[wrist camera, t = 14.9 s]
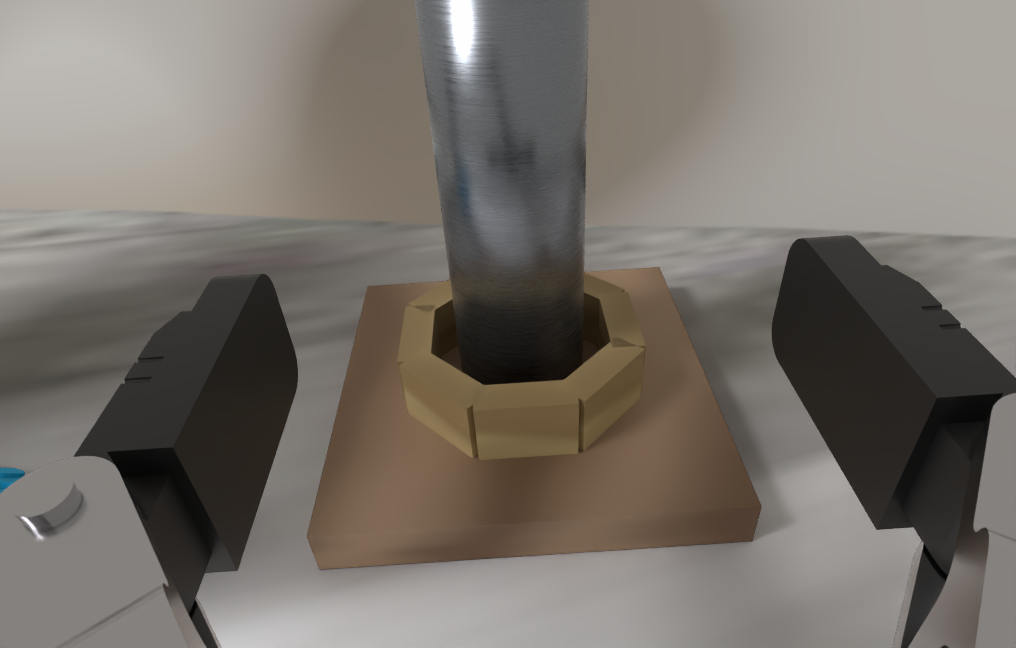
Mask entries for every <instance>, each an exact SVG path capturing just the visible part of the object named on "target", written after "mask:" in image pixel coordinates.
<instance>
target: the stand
mask: <svg viewBox="0 0 1016 648" xmlns="http://www.w3.org/2000/svg"><path fill="white" fill-rule="evenodd" d="M760 511H761V504H760V502H759V500H758V497H757V495H756V493H755V490H754V488H753V486H752V483H751V481H750V479H749V476H748V474H747V471H746V469H745V467H744V464H743V462H742V460H741V457H740V455H739V453H738V450H737V448H736V446H735V443H734V441H733V439H732V436H731V434H730V432H729V429H728V427H727V425H726V422H725V420H724V418H723V415H722V413H721V411H720V408H719V406H718V404H717V401H716V399H715V397H714V394H713V392H712V390H711V387H710V385H709V383H708V380H707V378H706V375H705V373H704V371H703V368H702V366H701V364H700V361H699V359H698V357H697V354H696V352H695V350H694V347H693V345H692V343H691V340H690V338H689V336H688V333H687V331H686V329H685V326H684V324H683V322H682V319H681V317H680V315H679V312H678V310H677V308H676V305H675V303H674V301H673V298H672V296H671V294H670V291H669V289H668V286H667V284H666V282H665V279H664V277H663V275H662V272H661V270H660V268H659V267H653V268H638V269H623V270H608V271H593V272H584V303H583V361H582V365H581V366H580V367H579V368H578V369H577V370H575V371H574V372H573V373H572V374H570V375H569V376H568V377H567V378H566V379H564V380H555V381H540V382H525V383H510V384H495V385H483V384H481V383H480V382H478V381H476V380H475V379H473V378H471V377H470V376H468V375H466V374H465V373H463V372H462V368H461V360H460V353H459V345H458V337H457V329H456V321H455V314H454V306H453V298H452V290H451V282H450V279H449V280H447V281H442V282H426V283H411V284H396V285H381V286H368V288H367V292H366V296H365V300H364V304H363V308H362V312H361V316H360V321H359V325H358V329H357V333H356V337H355V341H354V345H353V349H352V353H351V357H350V361H349V366H348V370H347V374H346V378H345V382H344V386H343V390H342V394H341V398H340V402H339V406H338V411H337V415H336V419H335V423H334V427H333V431H332V435H331V439H330V443H329V447H328V451H327V456H326V460H325V464H324V468H323V472H322V476H321V480H320V484H319V488H318V492H317V496H316V501H315V505H314V509H313V513H312V517H311V521H310V525H309V529H308V533H307V539H308V541H309V544H310V546H311V549H312V552H313V554H314V557H315V559H316V562H317V564H318V567H319V569H334V568H350V567H365V566H380V565H395V564H411V563H426V562H441V561H456V560H472V559H487V558H502V557H518V556H533V555H548V554H563V553H579V552H594V551H609V550H624V549H640V548H655V547H670V546H685V545H701V544H716V543H731V542H746V541H752V539H753V536H754V532H755V528H756V525H757V521H758V518H759V514H760Z"/></svg>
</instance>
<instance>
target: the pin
mask: <svg viewBox="0 0 1016 648" xmlns="http://www.w3.org/2000/svg"><path fill="white" fill-rule="evenodd" d="M414 1H415V9H416V17H417V25H418V32H419V40H420V48H421V55H422V63H423V71H424V79H425V87H426V95H427V102H428V111H429V118H430V126H431V133H432V142H433V150H434V157H435V165H436V173H437V180H438V189H439V196H440V204H441V211H442V220H443V228H444V235H445V243H446V251H447V259H448V267H449V275H450V282H451V290H452V298H453V306H454V314H455V321H456V329H457V337H458V345H459V353H460V360H461V368H462V372H463V373H465V374H466V375H468V376H470V377H471V378H473V379H475V380H476V381H478V382H480V383H481V384H483V385H495V384H510V383H525V382H540V381H555V380H564V379H566V378H567V377H568V376H569V375H570V374H572V373H573V372H574V371H575V370H577V369H578V368H579V367H580V366H581V365H582V361H583V303H584V245H585V187H586V186H585V185H586V183H585V182H586V129H587V71H588V66H587V65H588V13H589V11H588V10H589V0H414Z"/></svg>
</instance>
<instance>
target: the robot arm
mask: <svg viewBox="0 0 1016 648" xmlns="http://www.w3.org/2000/svg"><path fill="white" fill-rule="evenodd" d="M960 324H961V323H960V322H959V321H958V320H957V319H956V318H955V317H954V316H953V315H952V314H950V313H949V312H948V311H947V310H942V305H941V304H940V303H939V302H938V301H937V300H936V299H935V298H934V297H933V296H932V295H931V294H930V293H929V292H928V291H927V290H926V289H925V288H924V287H923V286H922V285H921V284H920V283H919V282H917V281H915V280H913V279H911V278H910V277H908V276H906V275H904V274H902V273H900V272H898V271H897V270H895V269H893V268H891V267H889V266H887V265H883V266H881V265H880V264H879V263H878V262H877V261H876V260H875V259H874V258H873V257H872V256H871V254H870V253H869V252H868V251H867V250H866V249H865V248H864V247H863V246H862V245H861V244H860V243H859V242H858V241H857V240H856V239H855V238H854V237H852V236H848V235H846V236H832V237H817V238H802V239H797V240H796V241H795V242H794V243H793V244H792V246H791V248H790V250H789V253H788V257H787V262H786V266H785V270H784V274H783V279H782V283H781V287H780V292H779V296H778V300H777V305H776V309H775V313H774V317H773V323H772V342H773V348H774V352H775V355H776V358H777V360H778V362H779V364H780V365H781V367H782V369H783V370H784V372H785V374H786V376H787V377H788V379H789V381H790V382H791V384H792V386H793V387H794V389H795V391H796V393H797V394H798V396H799V398H800V399H801V401H802V403H803V405H804V406H805V408H806V410H807V411H808V413H809V415H810V417H811V418H812V420H813V422H814V423H815V425H816V427H817V429H818V430H819V432H820V434H821V435H822V437H823V439H824V441H825V442H826V444H827V446H828V447H829V449H830V451H831V453H832V454H833V456H834V458H835V459H836V461H837V463H838V465H839V466H840V468H841V470H842V471H843V473H844V475H845V476H846V478H847V480H848V482H849V483H850V485H851V487H852V488H853V490H854V492H855V494H856V495H857V497H858V499H859V500H860V502H861V504H862V506H863V507H864V509H865V511H866V512H867V514H868V516H869V518H870V519H871V521H872V523H873V524H874V526H875V528H876V530H880V529H894V528H909V527H914V529H915V530H916V532H917V533H918V535H919V537H920V538H921V540H922V541H921V542H920V544H919V546H918V548H917V550H916V552H915V555H914V557H913V562H912V566H911V570H910V574H909V579H908V583H907V587H906V592H905V596H904V600H903V604H902V609H901V613H900V617H899V622H898V626H897V630H896V634H895V639H894V643H893V647H892V648H1016V378H1015V377H1014V376H1013V375H1012V374H1011V373H1010V372H1009V371H1008V370H1007V369H1006V368H1005V367H1004V366H1003V365H1002V364H1001V363H1000V362H999V361H998V360H997V359H996V358H995V357H994V356H993V355H992V354H991V353H990V352H989V351H988V350H987V349H986V348H985V347H984V346H983V345H982V344H981V343H980V342H979V341H978V340H977V339H976V338H975V337H974V336H973V335H972V334H971V333H970V332H969V331H968V330H967V329H966V328H961V327H960ZM297 382H298V367H297V359H296V354H295V350H294V347H293V344H292V341H291V338H290V335H289V332H288V329H287V326H286V322H285V319H284V316H283V313H282V310H281V307H280V304H279V301H278V297H277V294H276V291H275V288H274V286H273V283H272V281H271V280H270V278H269V277H268V276H267V275H265V274H256V275H241V276H226V277H215V278H213V279H212V280H211V281H210V282H209V284H208V285H207V287H206V289H205V290H204V292H203V293H202V295H201V297H200V298H199V300H198V302H197V303H196V305H195V307H194V308H193V310H192V311H188V312H181V313H179V314H178V315H177V316H176V317H174V318H173V319H172V320H171V321H169V322H168V323H167V324H166V325H164V326H163V327H162V328H161V329H159V330H158V331H157V332H156V333H154V334H153V336H152V337H151V339H150V341H149V342H148V344H147V345H146V347H145V348H144V350H143V351H142V353H141V354H140V356H139V357H138V363H134V365H133V367H132V368H131V370H130V371H129V373H128V374H127V376H126V377H125V384H121V385H120V386H119V388H118V389H117V391H116V392H115V394H114V396H113V397H112V399H111V400H110V402H109V403H108V405H107V406H106V408H105V409H104V411H103V412H102V414H101V415H100V417H99V418H98V420H97V422H96V423H95V425H94V426H93V428H92V429H91V431H90V432H89V434H88V435H87V437H86V438H85V440H84V441H83V443H82V444H81V446H80V448H79V449H78V451H77V452H76V454H75V455H74V457H71V458H67V459H62V460H59V461H56V462H53V463H50V464H47V465H45V466H43V467H40V468H38V469H36V470H34V471H32V472H30V473H28V474H26V475H25V476H23V477H22V478H20V479H19V480H17V481H15V482H14V483H13V484H11V485H10V486H9V487H7V488H6V489H5V490H4V491H3V492H2V493H0V648H221V646H220V644H219V642H218V639H217V637H216V635H215V633H214V631H213V629H212V627H211V625H210V623H209V620H208V618H207V616H206V614H205V612H204V610H203V608H202V606H201V604H200V602H199V601H198V599H197V598H196V595H197V592H198V590H199V587H200V584H201V581H202V579H203V576H204V573H211V572H226V571H238V568H239V565H240V561H241V558H242V555H243V552H244V549H245V546H246V543H247V540H248V537H249V534H250V531H251V528H252V525H253V522H254V519H255V515H256V512H257V509H258V506H259V503H260V500H261V497H262V494H263V491H264V488H265V485H266V482H267V479H268V476H269V473H270V470H271V466H272V463H273V460H274V457H275V454H276V451H277V448H278V445H279V442H280V439H281V436H282V433H283V430H284V427H285V424H286V421H287V417H288V414H289V411H290V408H291V405H292V402H293V399H294V396H295V393H296V389H297Z"/></svg>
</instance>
